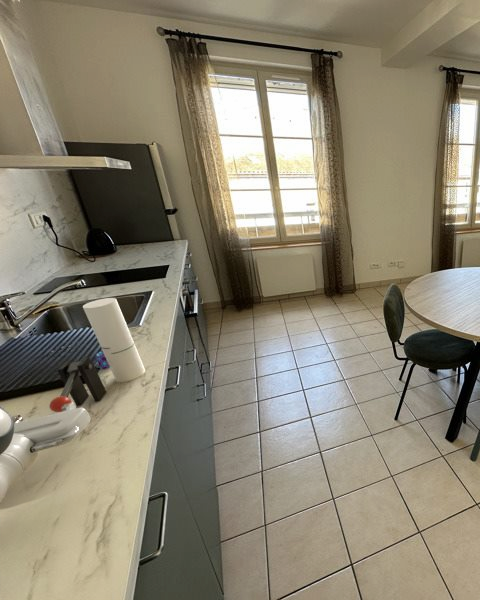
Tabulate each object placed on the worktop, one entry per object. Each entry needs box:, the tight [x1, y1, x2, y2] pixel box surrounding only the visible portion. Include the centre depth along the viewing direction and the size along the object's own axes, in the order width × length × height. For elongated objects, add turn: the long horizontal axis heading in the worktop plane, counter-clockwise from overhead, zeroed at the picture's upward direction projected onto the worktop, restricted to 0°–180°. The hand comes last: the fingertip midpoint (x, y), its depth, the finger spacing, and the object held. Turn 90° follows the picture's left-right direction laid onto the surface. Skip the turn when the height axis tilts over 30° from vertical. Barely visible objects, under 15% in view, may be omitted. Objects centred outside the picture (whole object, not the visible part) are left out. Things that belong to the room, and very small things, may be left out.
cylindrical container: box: [82, 297, 146, 383], centre depth 95 cm, size 7×7×25 cm
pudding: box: [94, 350, 110, 370], centre depth 106 cm, size 12×12×5 cm
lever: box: [49, 360, 82, 413], centre depth 81 cm, size 14×4×4 cm, turn 22°
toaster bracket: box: [56, 356, 107, 408], centre depth 87 cm, size 12×9×13 cm
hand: (44, 411), depth 72 cm, fingers open, 8 cm apart
